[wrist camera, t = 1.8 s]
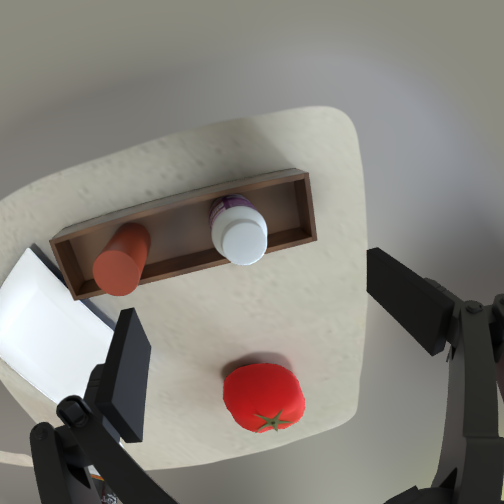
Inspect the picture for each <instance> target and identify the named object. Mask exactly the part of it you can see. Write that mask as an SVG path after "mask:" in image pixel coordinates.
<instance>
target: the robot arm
mask: <svg viewBox="0 0 504 504" xmlns="http://www.w3.org/2000/svg"><path fill="white" fill-rule="evenodd" d="M367 292H368V293H369V294H370V295H371V296H372V297H373V298H374V299H375V300H376V301H377V302H378V303H379V304H380V305H382V307H383V308H384V309H385V310H386V311H387V312H389V314H390V315H392V316H393V317H394V318H395V319H396V320H397V321H398V322H399V323H400V324H401V325H402V326H403V327H404V328H405V329H406V330H407V331H408V332H409V333H410V334H411V335H412V336H413V337H414V338H415V339H416V341H417V342H418V343H419V344H420V345H421V346H422V347H423V348H425V350H426V351H427V352H428V353H429V354H430V355H431V356H434V355H436V354H438V353H439V352H441V351H443V350H444V347H445V343H446V340H447V341H448V342H449V343H450V344H451V346H450V350H449V353H448V356H447V360H446V362H448V360H449V384H448V399H447V412H446V420H445V428H444V436H443V442H442V449H441V455H440V460H439V465H438V470H437V473H436V475H435V478H434V480H433V482H432V485H431V488H424V489H419V490H418V488H417V487H416V486H414V487H412V488H410V489H408V490H406V491H404V492H403V493H401V494H399V495H397V496H395V497H393V498H391V499H389V500H388V501H386V502H385V503H384V504H504V501H502V500H501V495H502V486H503V476H504V438H503V437H499V435H498V400H497V384H498V387H499V389H500V393H501V396H502V398H503V402H504V294H498V295H496V296H495V299H494V303H493V304H492V305H488V306H483V305H482V304H481V303H479V302H477V301H472V300H471V301H470V300H469V301H465V302H464V301H462V300H461V299H459V298H458V297H457V296H455V295H454V294H453V293H451V292H450V291H449V290H447V289H446V288H444V287H443V286H441V285H440V284H439V283H437V282H436V281H434V280H431V279H428V278H424V279H423V278H422V277H420V276H419V275H417V274H416V273H415V272H413V271H412V270H410V269H409V268H407V267H406V266H405V265H403V264H402V263H400V262H399V261H397V260H396V259H394V258H393V257H391V256H390V255H388V254H387V253H385V252H384V251H382V250H381V249H380V248H378V247H377V248H373V249H369V250H367ZM150 353H151V345H150V343H149V341H148V339H147V336H146V334H145V332H144V330H143V327H142V325H141V323H140V320H139V318H138V316H137V313H136V311H135V308H134V307H133V308H129V309H124V310H121V312H120V315H119V318H118V321H117V325H116V328H115V331H114V334H113V337H112V340H111V343H110V347H109V350H108V353H107V357H106V360H105V363H103V364H97V365H96V366H95V367H94V369H93V370H92V371H91V374H90V377H89V382H88V383H87V388H86V390H85V394H84V397H83V399H82V398H81V397H80V396H78V395H70V396H67V397H65V398H64V399H63V400H61V401H60V403H59V404H58V406H57V409H56V413H57V416H58V417H59V418H60V419H61V420H62V422H63V423H64V424H65V425H63V426H60V427H57V428H53V426H52V425H51V424H49V423H48V422H41V423H39V424H37V425H36V426H34V428H33V429H32V430H31V433H30V445H31V452H32V459H33V465H34V471H35V475H36V481H37V486H38V490H39V495H40V499H41V503H42V504H102V502H101V500H100V498H99V495H98V493H97V490H96V488H95V485H94V483H93V480H92V477H91V475H90V472H89V469H88V466H91V465H93V466H94V468H95V469H96V471H97V472H98V473H99V475H100V476H101V477H102V479H103V480H104V481H105V482H106V484H107V485H108V486H109V487H110V489H111V490H112V491H113V492H114V494H115V495H116V496H117V497H118V498H119V500H120V501H121V502H122V503H123V504H180V503H179V502H177V501H176V500H175V499H174V498H173V497H172V496H170V495H169V494H168V493H167V492H166V491H165V490H164V489H163V488H162V487H161V486H160V485H158V483H156V482H155V481H154V480H153V479H152V478H151V477H150V476H149V475H148V474H147V473H146V472H145V471H144V470H143V469H142V468H141V467H140V466H139V465H138V464H137V463H136V462H135V460H134V459H133V458H132V457H131V456H130V455H129V454H128V453H127V452H126V451H125V450H124V448H123V447H122V446H121V445H120V444H119V442H120V437H121V438H122V439H123V440H124V441H125V442H126V443H137V442H142V440H143V424H144V411H145V399H146V389H147V379H148V370H149V362H150ZM496 381H497V384H496Z"/></svg>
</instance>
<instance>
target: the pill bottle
mask: <svg viewBox="0 0 504 504" xmlns="http://www.w3.org/2000/svg"><path fill="white" fill-rule="evenodd" d="M209 226H210V231H211V237H212V241H213V244H214V246H215V248H216V249H217V251H218V252H219V253H220V254H221V255H223V256H224V257H226V258H227V259H228V260H229V261H231V262H232V263H234V264H237V265H250V264H252V263H255V262H256V261H258V260H259V259H260V258H261V257H262V256H263V254H264V253H265V251H266V248H267V226H266V223H265V220H264V218H263V217H262V216H261V214H260V213H259V212H258V211H257V210H256V208H255V207H254V206H253V205H252V204H251V203H250V201H249V200H247V199H246V198H245V197H243V196H241V195H238V194H230V195H226V196H222V197H220V198H219V199H217V200H216V201H215V202H214V203H213V205H212V207H211V209H210V211H209Z"/></svg>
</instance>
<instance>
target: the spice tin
mask: <svg viewBox="0 0 504 504" xmlns="http://www.w3.org/2000/svg"><path fill="white" fill-rule="evenodd" d="M150 247H151V237H150V235H149V233H148V231H147V230H146V229H145V228H144V227H143V226H142V225H140V224H137V223H126V224H123V225H122V226H120V227H119V228H118V229H117V231H116V232H115V233H114V235H113V236H112V237H111V239H110V240H109V242H108V243H107V244H106V246H105V247H104V248H103V250H102V251H101V253H100V254H99V255H98V257H97V258H96V260H95V262H94V264H93V276H94V279H95V282H96V283H97V285H98V286H99V287H100V288H101V289H102V290H103V291H104V292H106V293H108V294H110V295H114V296H124V295H127V294H129V293H131V292H132V291H133V290H135V288H136V287H137V285H138V283H139V280H140V277H141V274H142V271H143V268H144V265H145V262H146V259H147V256H148V253H149V250H150Z"/></svg>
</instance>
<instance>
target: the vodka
mask: <svg viewBox="0 0 504 504" xmlns="http://www.w3.org/2000/svg"><path fill="white" fill-rule="evenodd" d="M119 444H120V445H121V446H122V447H123V445H122V444H121V442H119ZM88 469H89V472H90V475H91V477H92V480H93V483H94V485H95V488H96V490H97V493H98V495H99V498H100V500H101V502H102V504H117V496H116V495H115V494H114V492H113V491H112V490H111V489H110V487H109V486H108V485H107V484H106V482H105V481H104V480H103V479H102V477H101V476H100V475H99V473H98V472H97V471H96V469H95V468H94V466H93V465H91V466H88Z"/></svg>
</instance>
